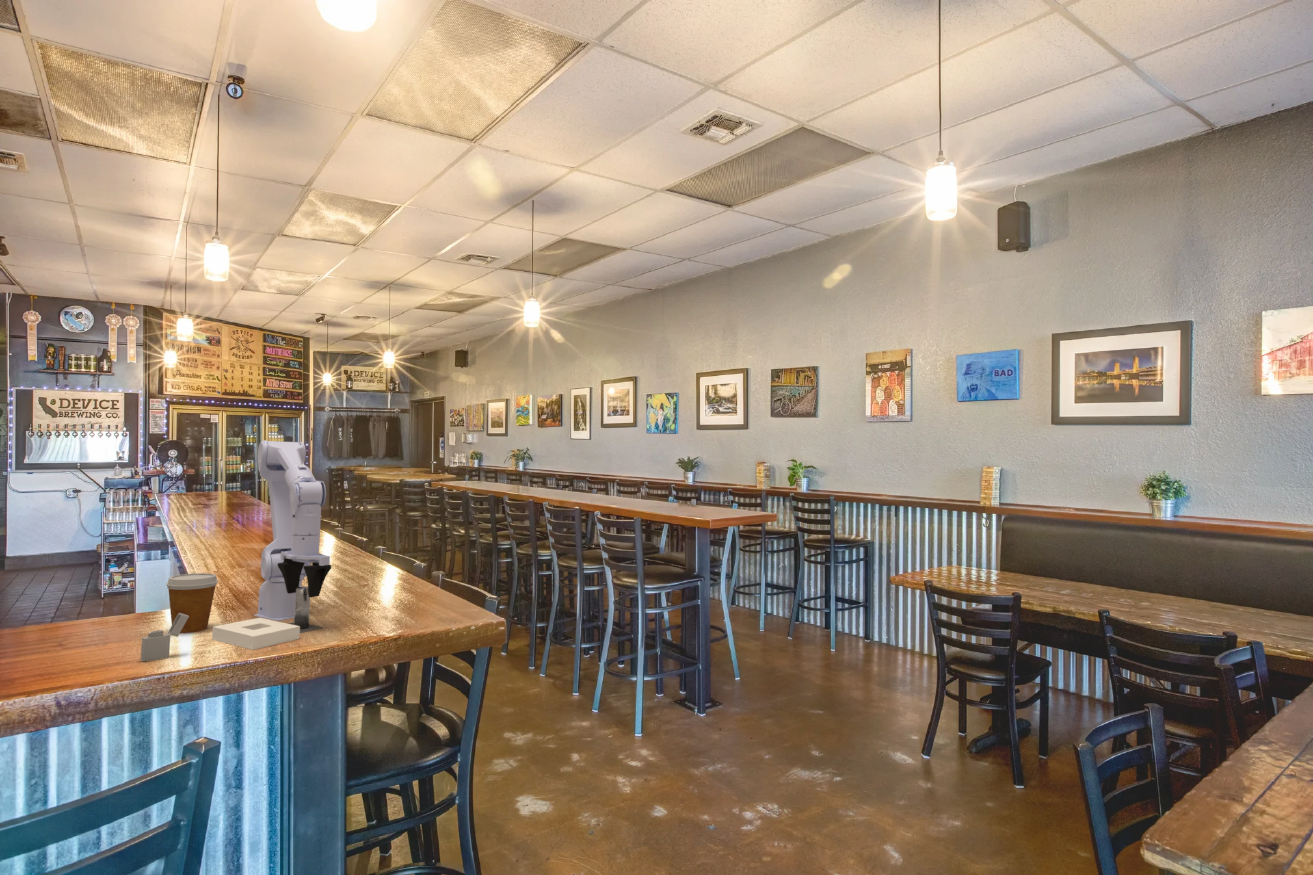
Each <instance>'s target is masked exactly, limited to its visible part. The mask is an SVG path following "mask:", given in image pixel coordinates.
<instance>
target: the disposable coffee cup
mask: <svg viewBox="0 0 1313 875" xmlns="http://www.w3.org/2000/svg"><path fill="white" fill-rule="evenodd" d="M218 583H219V580H218V579H217V575H216V574H215V573H208V572H207V573H206V572H204V573H203V572H201V573H199V572H197V573H195V572H194V573H184V574H176V575H171V576H169V577H168V580H167V582H166V583H165V586H166V587H167V589H168V598H169V609H170V619H171V620H170V621H171V625H172V624H173V622H174V621H175V619H176V617H177V615H178V614H179V613H182V614H186V615H188V616H189V617H188V619H187V621H186V623H185V624H184V626H183V628H182V630H181V632H180V633H179V634H191V633H197V632H201V631H205V630H208V626H209V621H210V617H211V616H210V615H211V610H212V605H213V600H214V595H215V590H216V586H217V585H218Z"/></svg>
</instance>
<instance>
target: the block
mask: <svg viewBox="0 0 1313 875" xmlns="http://www.w3.org/2000/svg"><path fill="white" fill-rule="evenodd" d="M300 634H301V633H300V626H296V625H291V624H287V623H286V622H282V621H275V620H270V619H266V618H261V617H257V618H251V619H246V620H240V621H236V622H230V623H225V624H219V625H216V626H212V634H211V635H212V636H211V640H213V641H216V642H219V643H225V644H227V645H228V644H229V645H231V646H232V645H233V646H237V647H240V648H243V649H247V650H251V651H254V650H259V649H263V648H267V647H270V646H275V645H280V644H283V643H288V642H292V641H296V640H300Z"/></svg>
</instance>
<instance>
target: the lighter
mask: <svg viewBox="0 0 1313 875" xmlns="http://www.w3.org/2000/svg"><path fill="white" fill-rule="evenodd" d="M188 617H189V616H188V615H186V614H182V613H179V614H178V615H177V617H176V619H175V621H174V622H173V624H172V623H171V625H170V627H169V630H168V631H167V633H164V630H163V629H158V630H152V631H150V632H148V633H147V636H143V637H141V646H140V647H141V648H140V650H141V651H140V661H141V660H142V661H143V662H142V661H141V662H142V663H146V662H145V661H147V662H151V660H153V661H157V660H163V659H164V660H165V659H168V658H170V649H171V648H170V647H171V646H170V645H171V636H173V637H178V636H179V635H180V634H181V633H180V632H181V630H182V628H183V626H184V624H185V623H186V621H187V619H188Z"/></svg>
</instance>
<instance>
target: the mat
mask: <svg viewBox="0 0 1313 875" xmlns="http://www.w3.org/2000/svg"><path fill="white" fill-rule="evenodd" d="M287 624H291V625H294V621H293V622H288V623H287ZM324 628H326V627H324V626H320V625H316V624H310V623H309V628H306V629H300V634H303V633H308V632H312V631H316V630H321V629H324Z"/></svg>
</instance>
